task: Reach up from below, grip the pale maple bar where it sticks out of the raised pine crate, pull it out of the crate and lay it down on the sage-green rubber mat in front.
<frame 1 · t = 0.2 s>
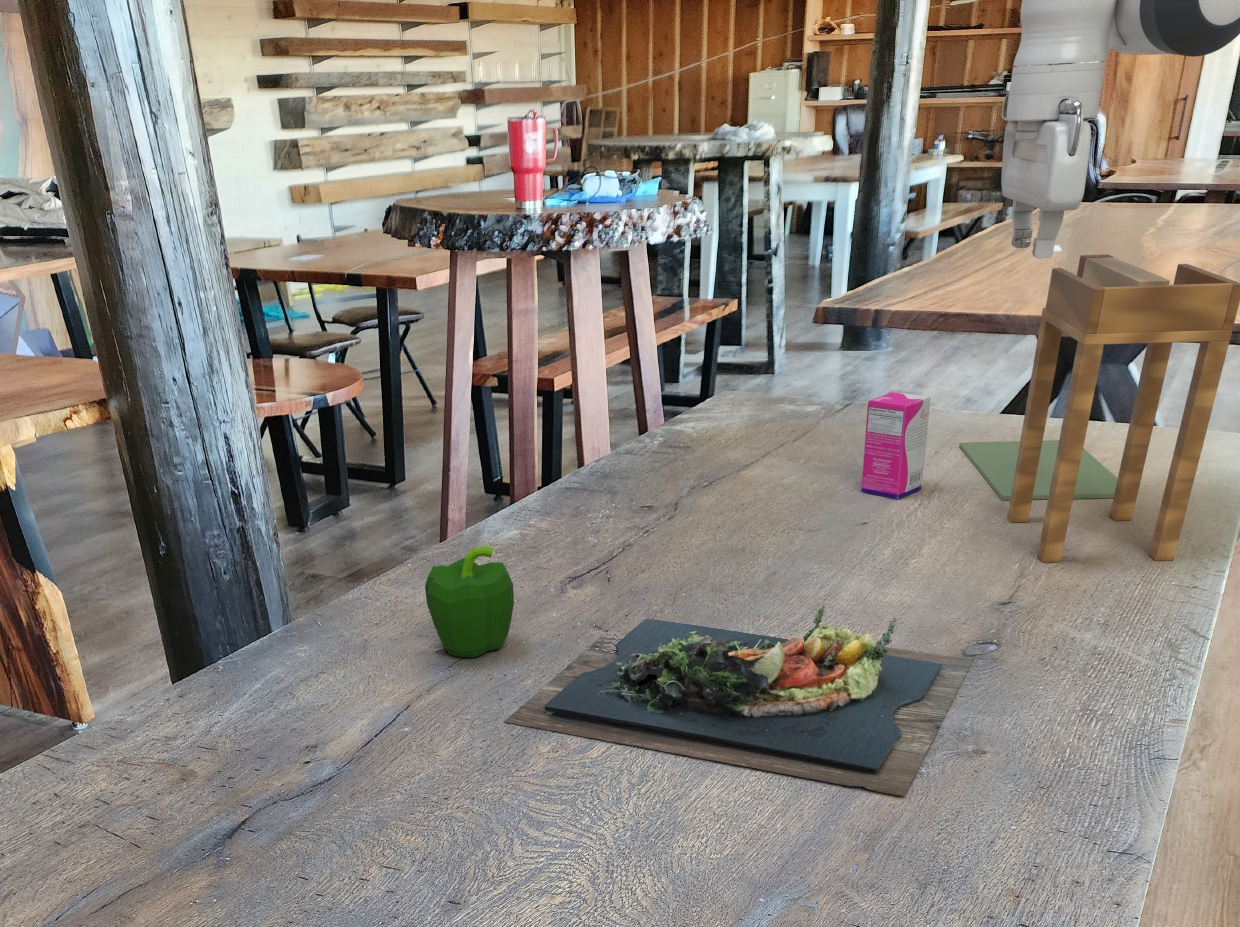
hand: (1030, 252, 127), 28 cm above the table, tool pointing down, fingers open, 8 cm apart
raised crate: (1086, 537, 135), on the table
maple bar: (1114, 308, 127), point 23 cm above the table, touching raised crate
rubber mat: (1039, 470, 158), on the table
supplement box: (890, 492, 153), on the table
bell pepper: (473, 650, 115), on the table
plated dish: (746, 691, 105), on the table
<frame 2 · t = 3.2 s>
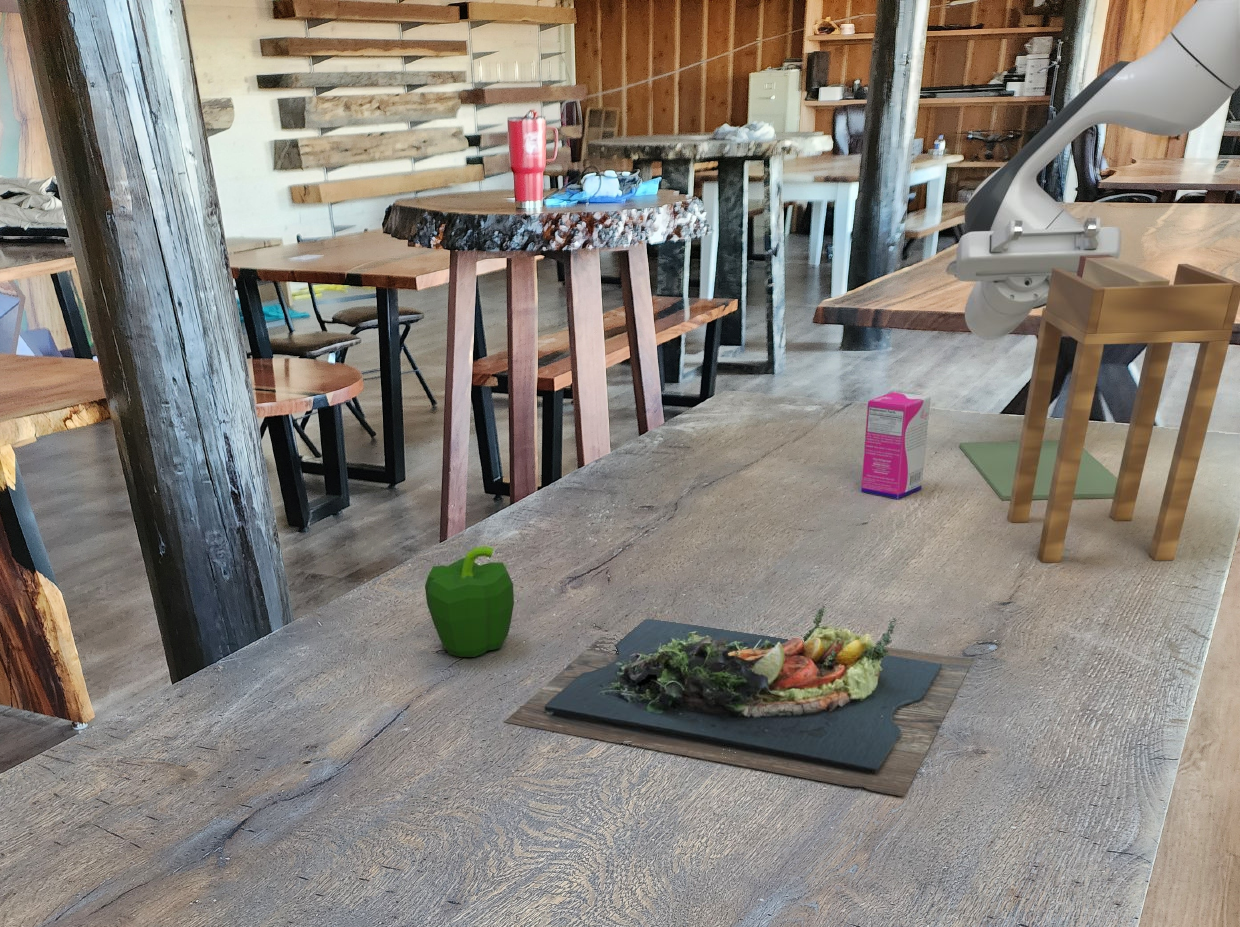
hand: (1055, 224, 146), 28 cm above the table, tool pointing upward, fingers open, 8 cm apart
nothing on the table moved.
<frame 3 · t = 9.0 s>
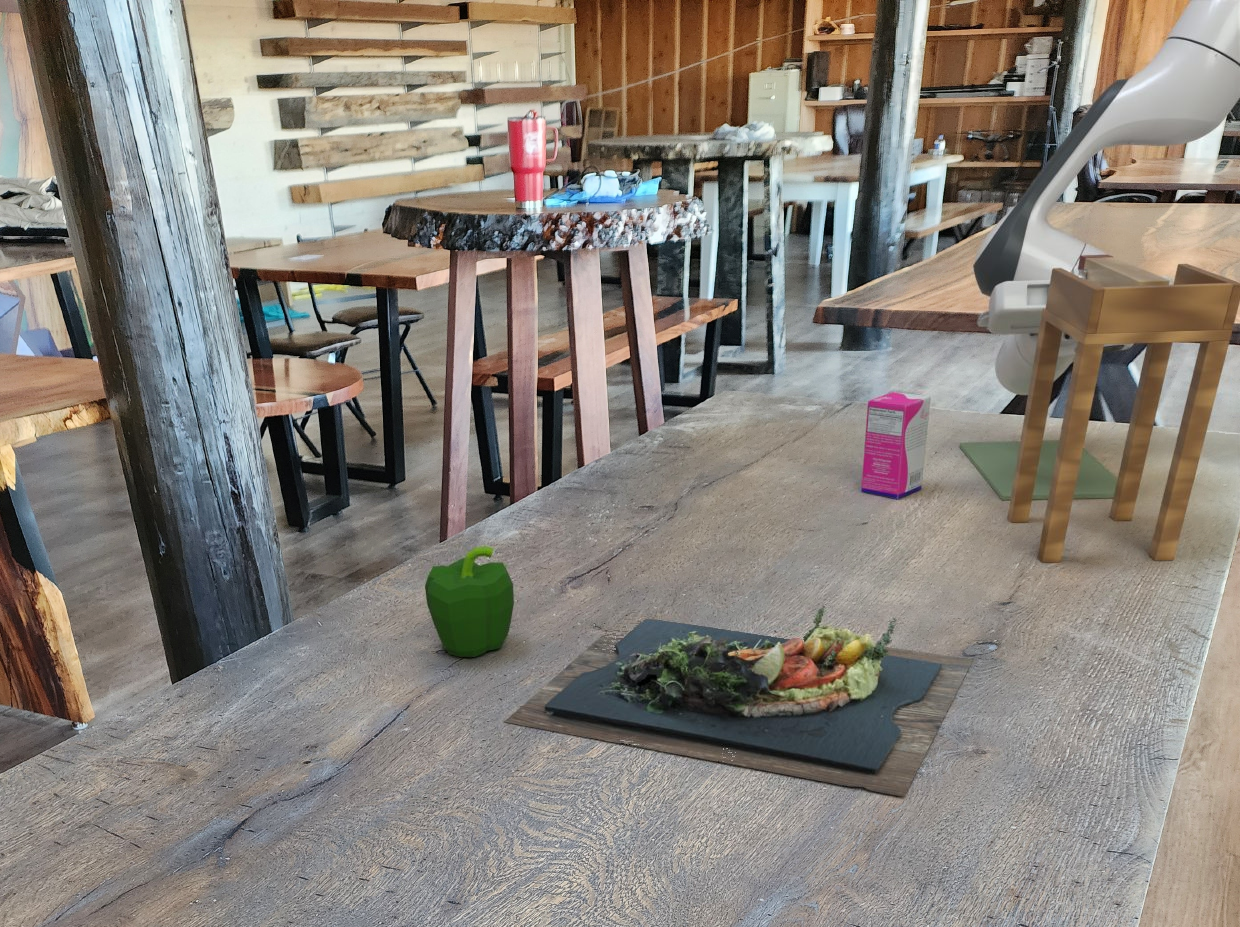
hand: (1101, 274, 130), 25 cm above the table, tool pointing upward, fingers closed on maple bar, 3 cm apart
maple bar: (1114, 308, 127), point 23 cm above the table, touching gripper, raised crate
everything else where it was.
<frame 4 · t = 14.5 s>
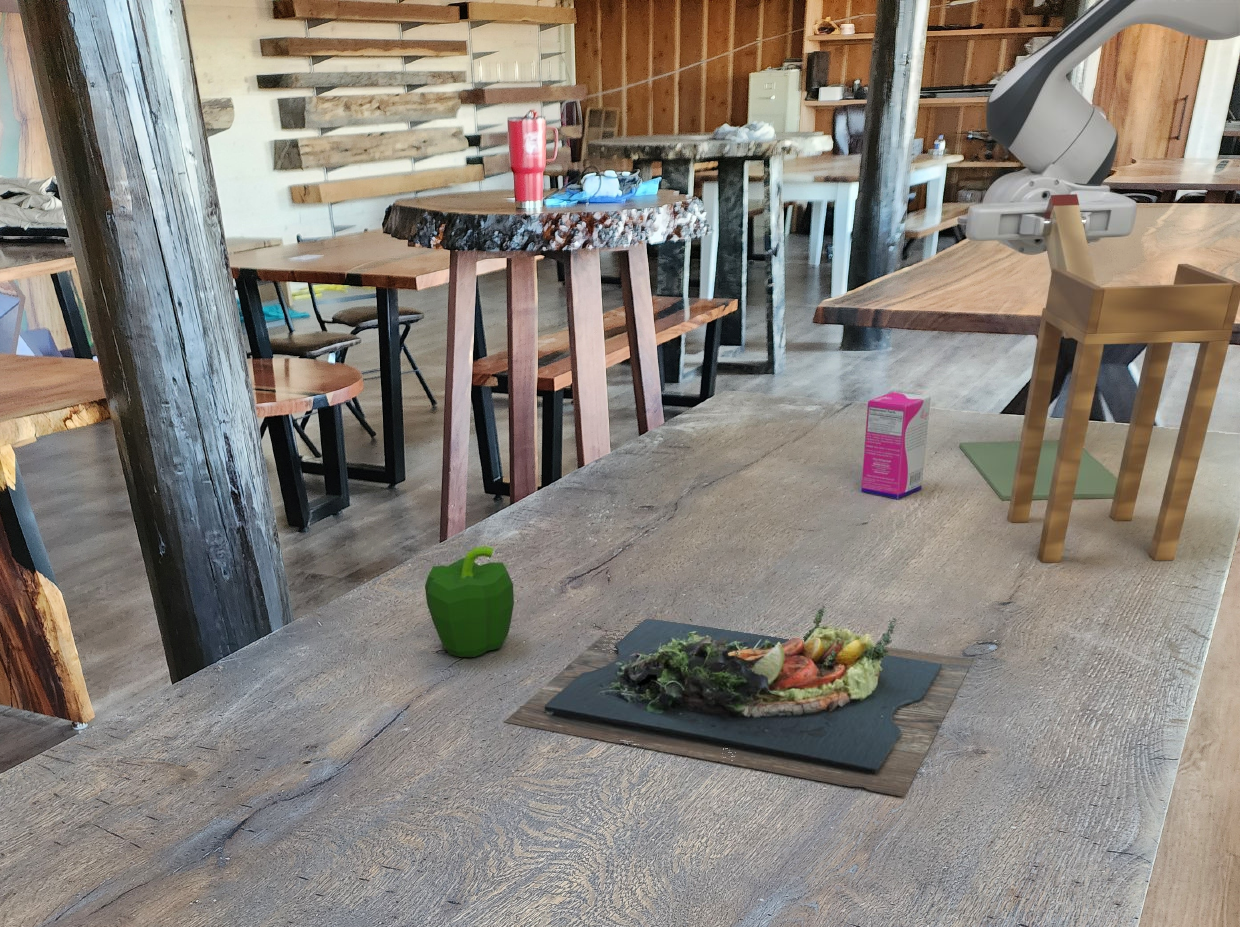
hand: (1064, 226, 143), 29 cm above the table, tool horizontal, fingers closed on maple bar, 3 cm apart
maple bar: (1065, 279, 142), point 23 cm above the table, tilted 30°, touching gripper
everything else where it was.
when the fingers open (11 cm above the table, at t = 19.5 s): maple bar drops 5 cm, resting on rubber mat.
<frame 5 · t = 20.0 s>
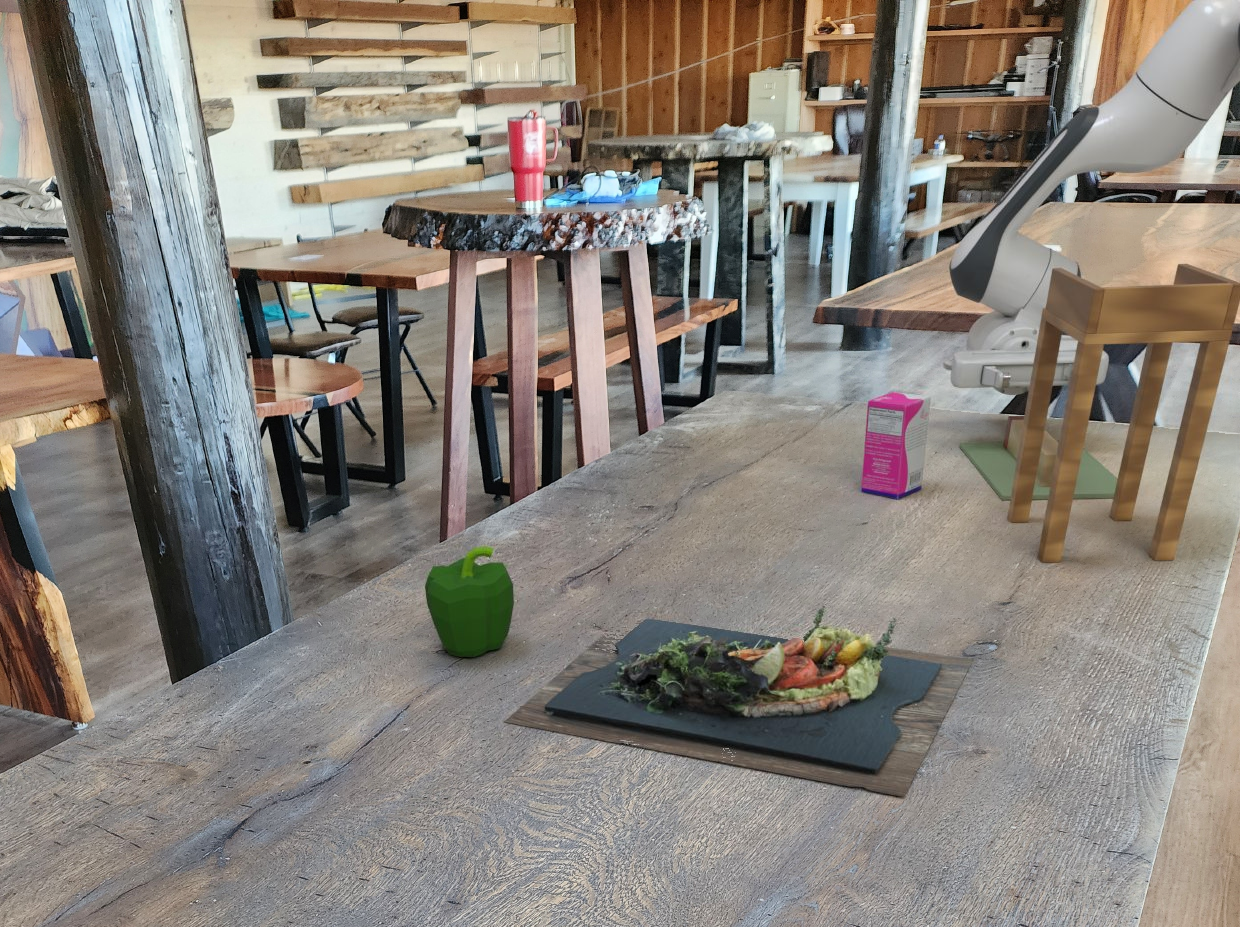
hand: (1041, 380, 154), 11 cm above the table, tool horizontal, fingers open, 8 cm apart
maple bar: (1032, 464, 158), point 1 cm above the table, touching rubber mat
everything else where it was.
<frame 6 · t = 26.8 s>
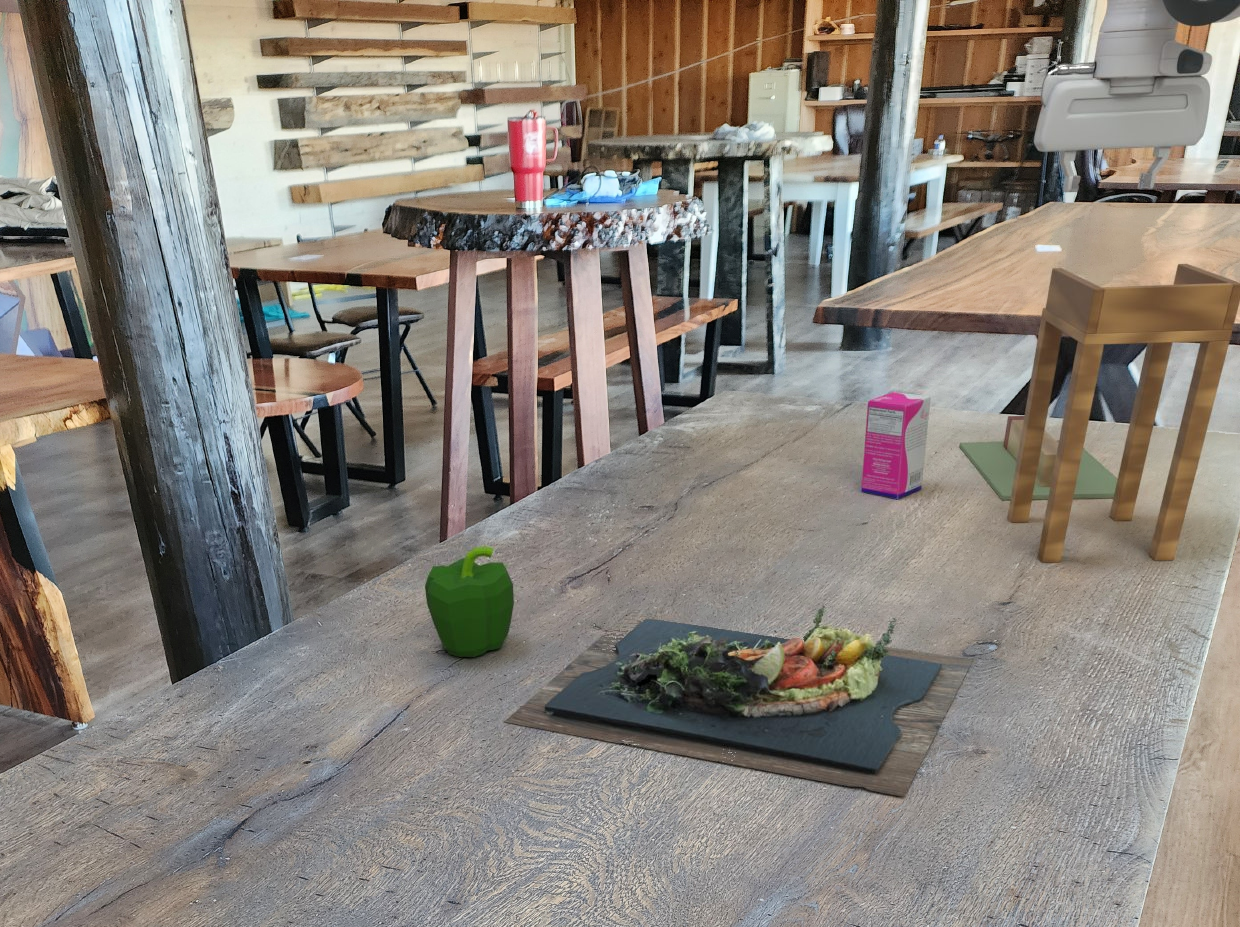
hand: (1107, 190, 153), 31 cm above the table, tool pointing down, fingers open, 8 cm apart
nothing on the table moved.
at the end: maple bar inside the target area on the rubber mat (1.1 cm from its centre), point 0.6 cm above the rubber mat's base; the gripper is holding nothing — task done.
